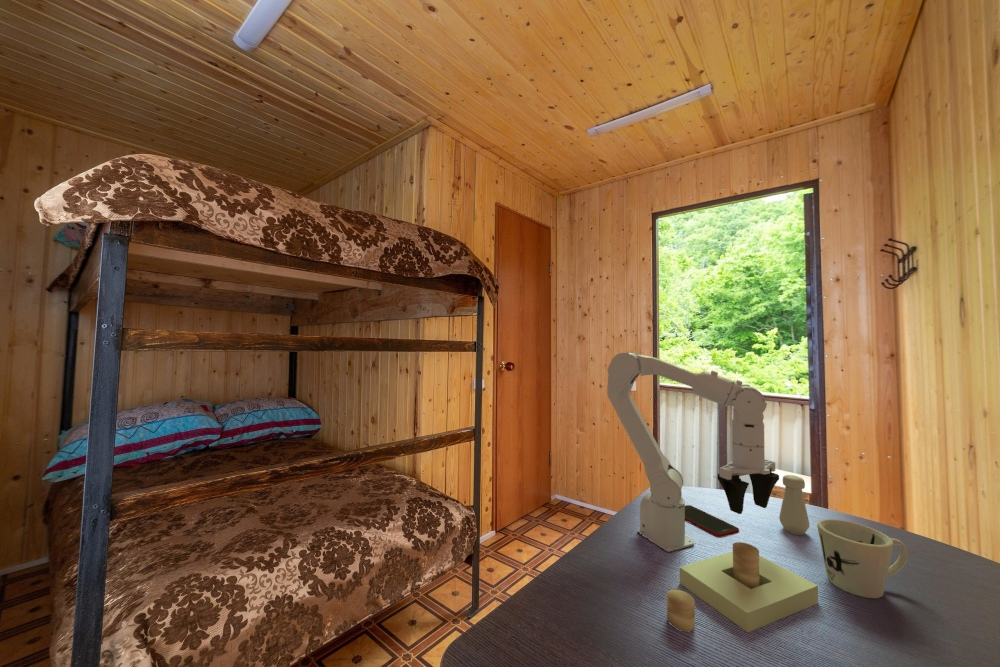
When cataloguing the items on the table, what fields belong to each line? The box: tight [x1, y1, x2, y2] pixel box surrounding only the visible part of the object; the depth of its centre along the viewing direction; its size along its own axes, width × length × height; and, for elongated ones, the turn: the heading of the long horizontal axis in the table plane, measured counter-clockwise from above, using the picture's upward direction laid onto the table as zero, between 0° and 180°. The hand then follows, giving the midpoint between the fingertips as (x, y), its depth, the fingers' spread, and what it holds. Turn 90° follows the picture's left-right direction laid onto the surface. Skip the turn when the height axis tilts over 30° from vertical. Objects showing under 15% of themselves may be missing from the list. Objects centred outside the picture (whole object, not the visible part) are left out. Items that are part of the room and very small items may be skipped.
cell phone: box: [685, 504, 740, 538], centre depth 96 cm, size 8×15×1 cm, turn 23°
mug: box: [816, 518, 909, 599], centre depth 71 cm, size 10×15×10 cm
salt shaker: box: [778, 474, 810, 536], centre depth 91 cm, size 6×6×13 cm
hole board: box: [679, 550, 819, 634], centre depth 68 cm, size 13×18×3 cm
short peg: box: [666, 589, 696, 633], centre depth 61 cm, size 4×4×4 cm
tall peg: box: [732, 541, 760, 589], centre depth 68 cm, size 4×4×8 cm
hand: (748, 509), depth 79 cm, fingers open, 7 cm apart
